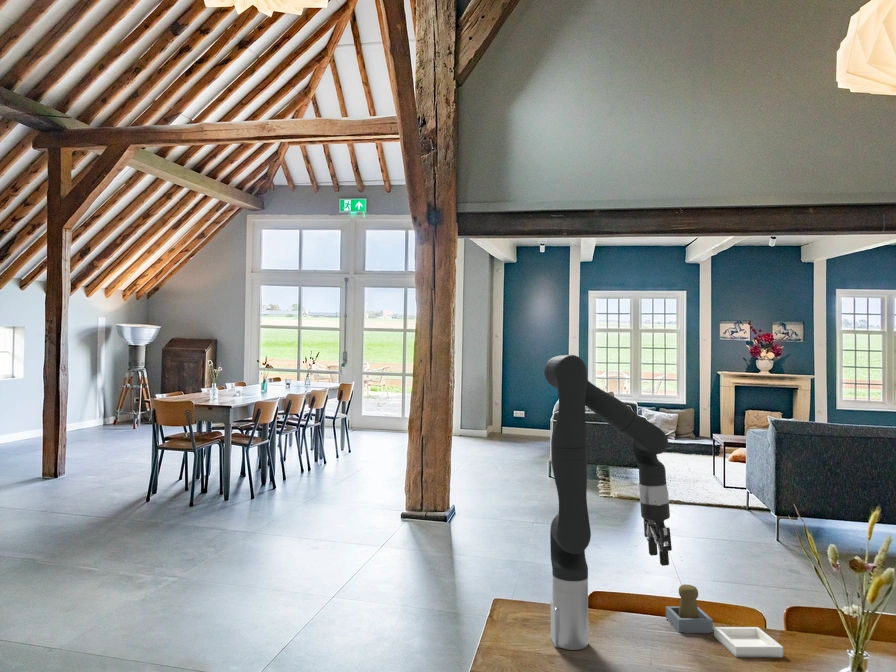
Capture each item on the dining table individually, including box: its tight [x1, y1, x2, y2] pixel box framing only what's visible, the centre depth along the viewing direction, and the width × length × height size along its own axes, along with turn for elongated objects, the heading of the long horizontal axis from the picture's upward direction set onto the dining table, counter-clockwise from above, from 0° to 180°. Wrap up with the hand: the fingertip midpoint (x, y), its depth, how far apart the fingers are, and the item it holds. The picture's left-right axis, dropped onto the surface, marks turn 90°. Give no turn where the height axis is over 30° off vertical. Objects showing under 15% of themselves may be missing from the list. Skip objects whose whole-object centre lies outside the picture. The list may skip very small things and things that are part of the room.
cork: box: [678, 584, 699, 618], centre depth 173 cm, size 6×6×11 cm
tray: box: [713, 626, 784, 658], centre depth 160 cm, size 12×12×2 cm
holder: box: [665, 605, 714, 634], centre depth 173 cm, size 9×9×4 cm
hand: (658, 559), depth 168 cm, fingers open, 8 cm apart
